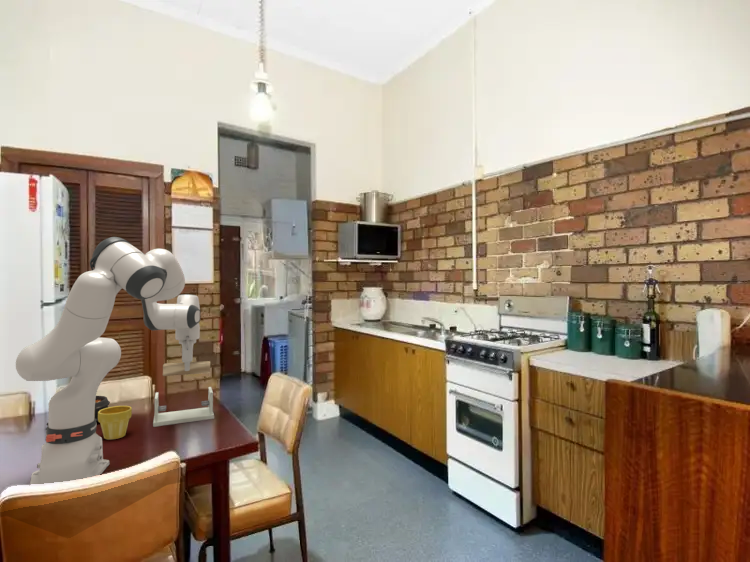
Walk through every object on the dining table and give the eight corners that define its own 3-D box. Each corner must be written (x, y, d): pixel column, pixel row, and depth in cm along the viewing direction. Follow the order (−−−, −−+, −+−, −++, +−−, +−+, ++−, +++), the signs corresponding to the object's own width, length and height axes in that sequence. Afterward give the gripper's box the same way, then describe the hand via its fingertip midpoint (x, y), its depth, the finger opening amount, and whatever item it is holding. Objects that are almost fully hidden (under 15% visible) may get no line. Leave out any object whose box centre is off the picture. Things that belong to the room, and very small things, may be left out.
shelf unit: (213, 418, 168) (214, 393, 168) (153, 426, 158) (153, 399, 158) (211, 410, 178) (211, 386, 178) (154, 417, 169) (154, 392, 169)
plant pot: (121, 429, 155) (122, 403, 155) (137, 434, 150) (137, 407, 150) (91, 438, 146) (92, 411, 146) (107, 444, 141) (107, 415, 141)
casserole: (66, 435, 149) (66, 412, 149) (34, 428, 156) (35, 406, 156) (130, 414, 172) (130, 395, 172) (100, 409, 179) (100, 390, 179)
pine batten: (210, 373, 164) (210, 363, 164) (162, 376, 158) (162, 365, 158) (210, 370, 168) (210, 361, 168) (163, 373, 161) (164, 363, 161)
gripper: (196, 337, 154) (196, 374, 155) (196, 331, 173) (195, 363, 173) (178, 338, 152) (177, 375, 152) (179, 331, 170) (179, 364, 171)
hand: (187, 369), depth 163 cm, fingers closed on pine batten, 4 cm apart
